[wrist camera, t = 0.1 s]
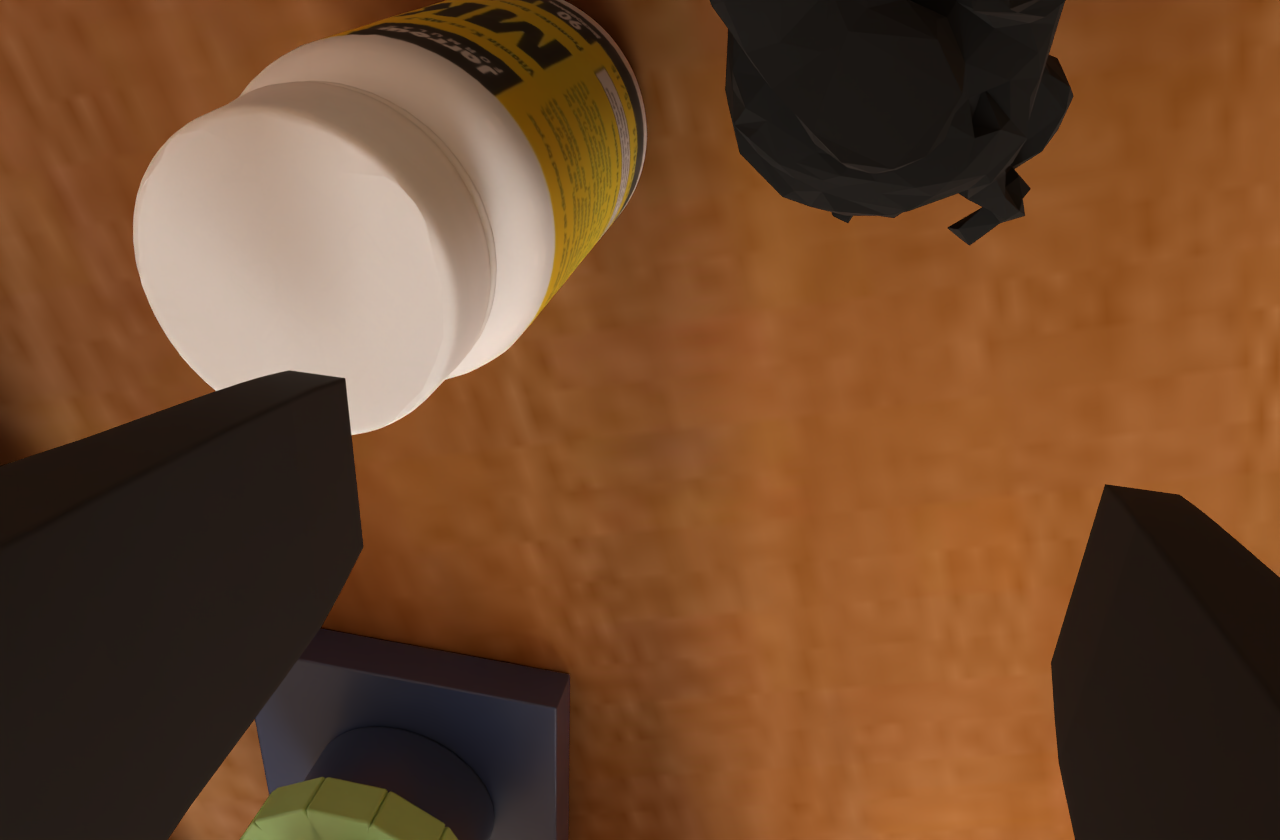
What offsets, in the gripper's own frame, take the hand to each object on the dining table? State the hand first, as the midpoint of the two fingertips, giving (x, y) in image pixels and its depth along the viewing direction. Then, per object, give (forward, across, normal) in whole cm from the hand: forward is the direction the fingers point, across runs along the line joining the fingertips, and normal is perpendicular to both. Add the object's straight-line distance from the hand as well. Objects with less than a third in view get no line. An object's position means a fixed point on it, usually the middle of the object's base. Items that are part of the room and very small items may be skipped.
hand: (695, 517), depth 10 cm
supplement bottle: (+10, +5, -1) cm, 11 cm away
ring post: (+10, +8, +16) cm, 20 cm away
